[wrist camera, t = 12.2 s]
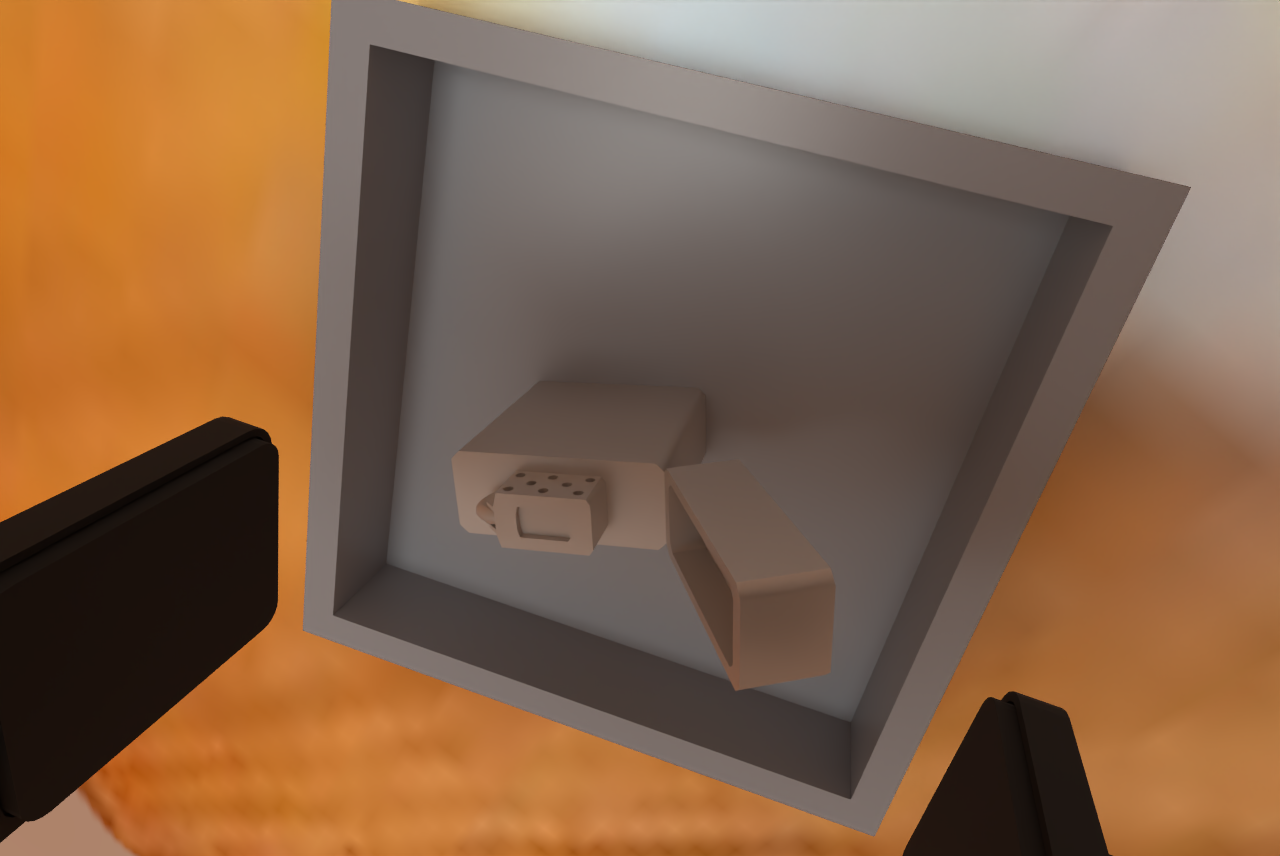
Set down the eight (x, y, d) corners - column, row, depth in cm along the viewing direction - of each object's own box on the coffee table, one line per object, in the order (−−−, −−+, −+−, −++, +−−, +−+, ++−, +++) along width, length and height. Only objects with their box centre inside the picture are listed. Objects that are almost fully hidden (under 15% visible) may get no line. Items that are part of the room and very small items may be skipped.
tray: (1129, 173, 15) (1191, 186, 12) (870, 742, 21) (874, 836, 18) (415, 5, 17) (331, -15, 14) (367, 568, 23) (303, 630, 20)
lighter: (538, 448, 19) (353, 647, 12) (532, 381, 19) (334, 548, 12) (837, 466, 18) (828, 710, 11) (842, 393, 17) (835, 599, 10)
